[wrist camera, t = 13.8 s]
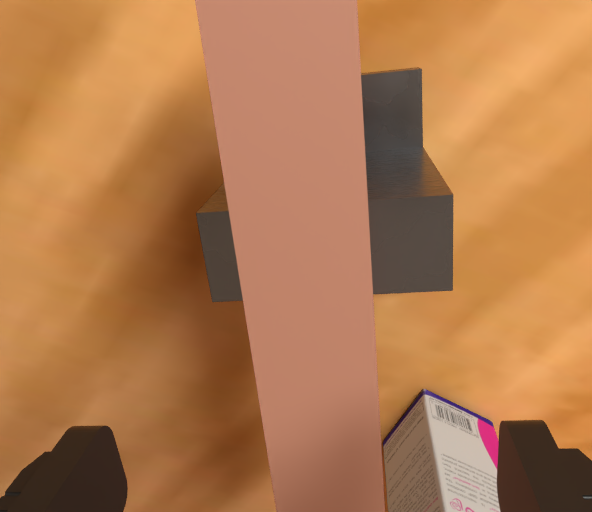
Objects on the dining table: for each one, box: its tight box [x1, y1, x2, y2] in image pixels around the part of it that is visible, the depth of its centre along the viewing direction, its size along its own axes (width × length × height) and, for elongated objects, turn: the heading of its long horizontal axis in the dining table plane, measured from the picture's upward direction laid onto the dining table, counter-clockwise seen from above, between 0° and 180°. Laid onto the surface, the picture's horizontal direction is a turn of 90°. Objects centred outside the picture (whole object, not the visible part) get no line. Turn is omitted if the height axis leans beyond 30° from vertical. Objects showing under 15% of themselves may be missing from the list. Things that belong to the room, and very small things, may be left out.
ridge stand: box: [196, 68, 453, 302], centre depth 26 cm, size 10×12×11 cm
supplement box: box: [383, 389, 501, 512], centre depth 32 cm, size 6×6×12 cm
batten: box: [195, 0, 385, 512], centre depth 18 cm, size 4×24×7 cm, turn 6°
